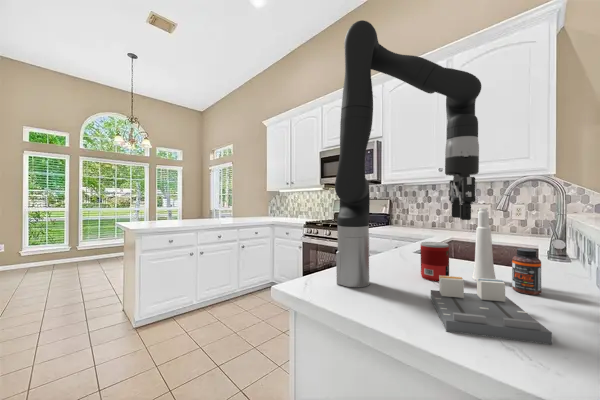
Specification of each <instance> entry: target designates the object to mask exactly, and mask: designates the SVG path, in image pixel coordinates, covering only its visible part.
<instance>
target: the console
mask: <svg viewBox="0 0 600 400" xmlns="http://www.w3.org/2000/svg"><path fill="white" fill-rule="evenodd" d="M430 300H431V301H432V304H433V306H434V308H435V309H436V313H437V314H438V316H439V318H440V321H441V323H442V325H443V327H444V329H445V331H446V332H448V333H457V334H464V335H472V336H473V335H474V336H482V337H487V338H488V337H490V338H497V339H505V340H506V339H507V340H514V341H521V342H529V343H536V342H537V344H547V345H553V333H552V331H551V330H549V329H548V328H547V327H546V326H544V325H543V324H541V323H540V322H539V321H538V320H537V319H535V318H534V317H533V316H531V314H529V312H527V311H525V310H524V309H523V308H522V307H520V306H519V305H517V303H515V302H514V301H513V300H511V299H510V298H509V297H508V296H506V295H505V302H504V301H493V300H482V299H481V298H480V297H479V296H478V295H477V293H471V292H464V298H459V297H448V296H442V295H441V294H440V292H439V290H436V289H435V290H434V289H430Z"/></svg>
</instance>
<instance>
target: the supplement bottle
mask: <svg viewBox="0 0 600 400" xmlns="http://www.w3.org/2000/svg"><path fill="white" fill-rule="evenodd" d="M511 260H512V261H511V265H512V266H511V267H512V268H511V269H512V274H511V276H512V277H511V279H512V280H511V284H512V285H511V287H512V289H513V291H515V292H517V293H519V294H524V295H531V296H538V295H541V294H542V260H541V259H540V258H539V257H537V250H535V249H532V248H522V247H521V248H519V247H518V248H516V255H514V256H513V257H512V259H511Z"/></svg>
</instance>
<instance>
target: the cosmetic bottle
mask: <svg viewBox="0 0 600 400" xmlns="http://www.w3.org/2000/svg"><path fill="white" fill-rule="evenodd" d="M489 214H490V213H489V211H488V208H484V207H480V208H478V212H477V227H476V229H475V230H476V231H475V249H474V250H475V251H474V266H473V273H472V277H471V278H472V280H474V281H476V282H477V278H484V279H497V278H496V271H495V267H494V258H493V257H494V255H493V244H492V243H493V242H492V241H493V240H492V239H493V238H492V228H491V227H490V215H489Z"/></svg>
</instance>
